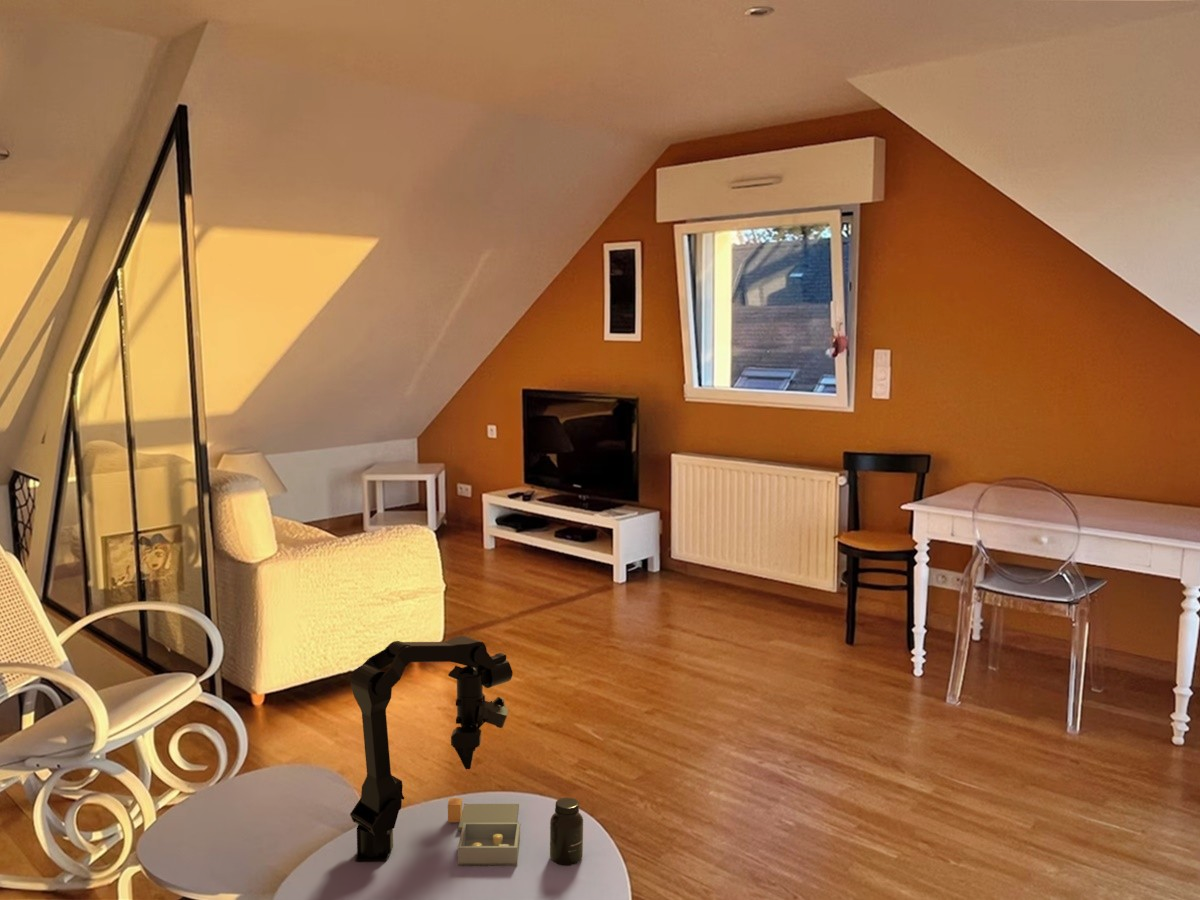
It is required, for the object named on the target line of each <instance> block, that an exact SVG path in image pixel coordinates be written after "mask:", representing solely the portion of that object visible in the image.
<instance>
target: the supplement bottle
mask: <svg viewBox="0 0 1200 900" xmlns="http://www.w3.org/2000/svg"><path fill="white" fill-rule="evenodd" d="M549 821H550V822H549V831H550V832H549V857H550V858H549V859H550V860H551V861H552V862H553V864H556V865H557V866H561V867H562V866H563V867H568V866H569V867H570V866H574V865H576V864H578V863H580V862H581V861H582V859H583V855H584V854H583V853H584V852H583V851H584V850H583V849H584V817H583V816H582V815H581V813H580V803H579V801H578V800H577V799H576V798H572V797H563V798H559V799H557V800H556V801H555V808H554V813H553V814H552V816H551V817H550V820H549Z"/></svg>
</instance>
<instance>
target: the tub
mask: <svg viewBox="0 0 1200 900" xmlns="http://www.w3.org/2000/svg"><path fill="white" fill-rule="evenodd" d="M457 845H458V846H457V867H517V866H518V860H519V853H520V845H521V822H517V823H463V827H462V831H460V835H459V841H458V844H457Z"/></svg>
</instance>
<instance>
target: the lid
mask: <svg viewBox="0 0 1200 900" xmlns="http://www.w3.org/2000/svg"><path fill="white" fill-rule="evenodd" d="M463 804H464V805H463ZM519 809H520V803H463V798H462V797H459V798H458V797H457V798H455V797H453V798H452V797H451V798H449V799H448V802H447V822H448V823H459V824H458V832H462V827H463V823H518V818H519V811H520V810H519Z"/></svg>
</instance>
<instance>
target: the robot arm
mask: <svg viewBox="0 0 1200 900" xmlns="http://www.w3.org/2000/svg"><path fill="white" fill-rule="evenodd" d="M439 662H440V663H445V662H451V663H455V664H459V665H462V666H463V667H461V666H459V665H455V666H454V668H453V669H452V670H450V672H448V677H450V678H452V679H454V680H456V699H455V707H456V718H455V724H458V725H460V726H457V727H455V729H453V730H452V734H451V736H450V746H452V748H454V749H455V751H456V753H457V755H458V757H459V759H460V761H461V763H462V765H463V767H464V769H465V770H471V769H472V768H471V767H472V763H473V757H474V752H475V751H476V749H477V748H479V747H480V745H481V742H482V730H481V727H482V726H483V725H484V724H485V723H487V724H490V725H493V726H496V727H497V728H500V729H502V728H504V725H505V723H506V720H507V718H508V717H507V716H508V714H509V708H508V706H507V705H506V704H505V699H504V697H503V698H502V697H500V696H497V697H496V698H495V699H494V700H490V701H488V700H486V695H485V694H484V693H483V692H484V691H483V687H484V688H486V689H489V688H493V687H496V686H499V685H502V684H506V683H507V682H510V681H511V680H512V679H513V670H512V665H511V664H510V662H509V661H508V659H507V654H505V653H503V652H499V653H496V654H495V655H492V656H491V655H490V654H489V653H488V650H487V645H486V644H485V642H483V641H480V640H478V639H475V638H472V637H469V636H467V635H461V636H454V637H451V638H450V639H448V640H446V641H445V640H444V641H400V640H396V641H392V642H391V643H389V644H388V645H387V646H386V647H385V648H384V649H383V650H381V651H379V652H378V653H377V652H376V654H374V655H371V656H370V657H369V658H368V659H366V660H365V662H363V663H362V664H361V665H360V666H358V667H357V668H355V670H354V672H353V673H352V674H351V675H350V686H351V689H352V690H351V691H352V694H353V698H354V699H355V702H356V703H357V705H358V707H359V709H360V711H361V718H362V721H361V722H362V729H363V730H362V733H363V741H364V742H363V743H364V753H365V754H364V755H365V765H366V766H365V767H366V777H365V779H364V781H363V783H362V785H361V792H360V793H361V795H360V799H359V800H358V801H357V803H356V804H355V806H354V808H353V809H352V810H351V812H350V814H349V816H350V818H351V820H352V822H353V823H356V824H357V827H356V855H355V857H354V861H355V862H386V861H387V860H388V858H389V855H390V854H391V853H392V851H393V848H394V834H393V833H394V830H393V829H395V828H396V827H395V826H396V822H397V818H398V816H399V812H400V811H401V809H402V803H403V801H404V799H405V796H404V795H403V794H404V793H403V781H402V780H401V779H399V778H398V777H395V775H392V770H391V769H392V767H391V758H390V757H391V756H390V746H389V743H390V742H389V734H388V722H387V707H388V706H389V703H390V701H391V699H392V692H393V687H394V686H395V685H396V684H397V683H398V682H399V681H400V680H401V678H402V676H403V673H404V671H405V669H406V667H407V666H408V665H409V664H410V663H439ZM390 664H391V665H390ZM387 666H390V667H388V669H387V670H386V671H383V668H385V667H387Z"/></svg>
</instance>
